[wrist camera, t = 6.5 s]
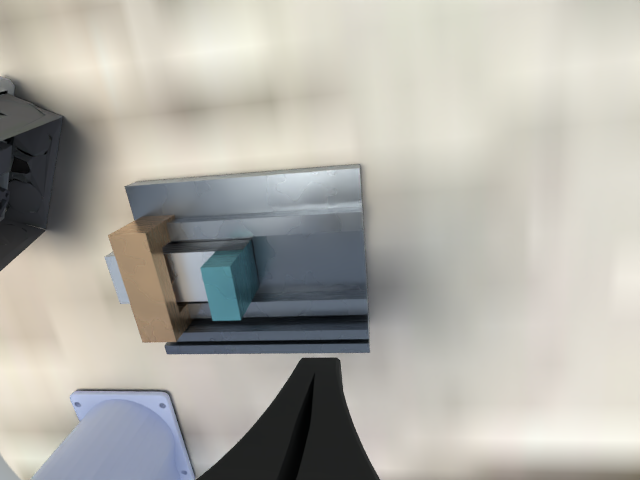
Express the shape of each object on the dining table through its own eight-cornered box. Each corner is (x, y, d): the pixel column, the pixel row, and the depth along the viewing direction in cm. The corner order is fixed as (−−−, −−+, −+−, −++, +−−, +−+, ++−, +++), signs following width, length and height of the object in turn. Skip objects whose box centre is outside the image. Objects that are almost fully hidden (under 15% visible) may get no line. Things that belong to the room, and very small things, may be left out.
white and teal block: (259, 286, 22) (241, 320, 19) (134, 290, 23) (97, 323, 20) (251, 239, 21) (229, 266, 18) (120, 246, 22) (78, 272, 19)
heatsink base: (369, 322, 23) (370, 368, 20) (177, 326, 25) (143, 368, 21) (359, 164, 20) (358, 181, 16) (136, 181, 22) (87, 200, 18)
